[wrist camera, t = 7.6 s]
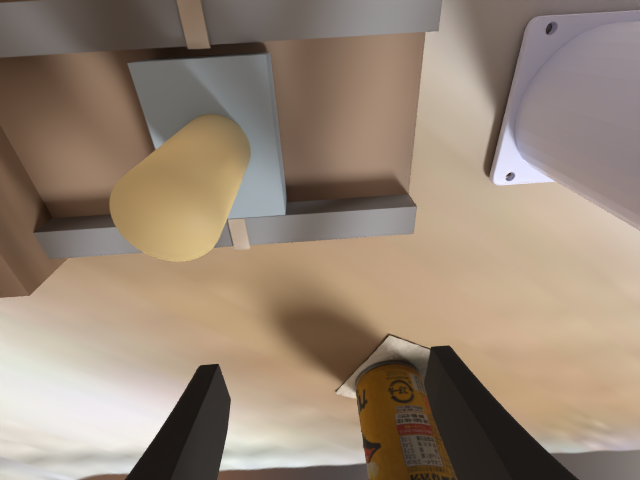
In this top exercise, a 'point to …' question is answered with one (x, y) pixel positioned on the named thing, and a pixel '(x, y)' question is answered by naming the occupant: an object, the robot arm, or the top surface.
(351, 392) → the condiment
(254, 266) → the top surface
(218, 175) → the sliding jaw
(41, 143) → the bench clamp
